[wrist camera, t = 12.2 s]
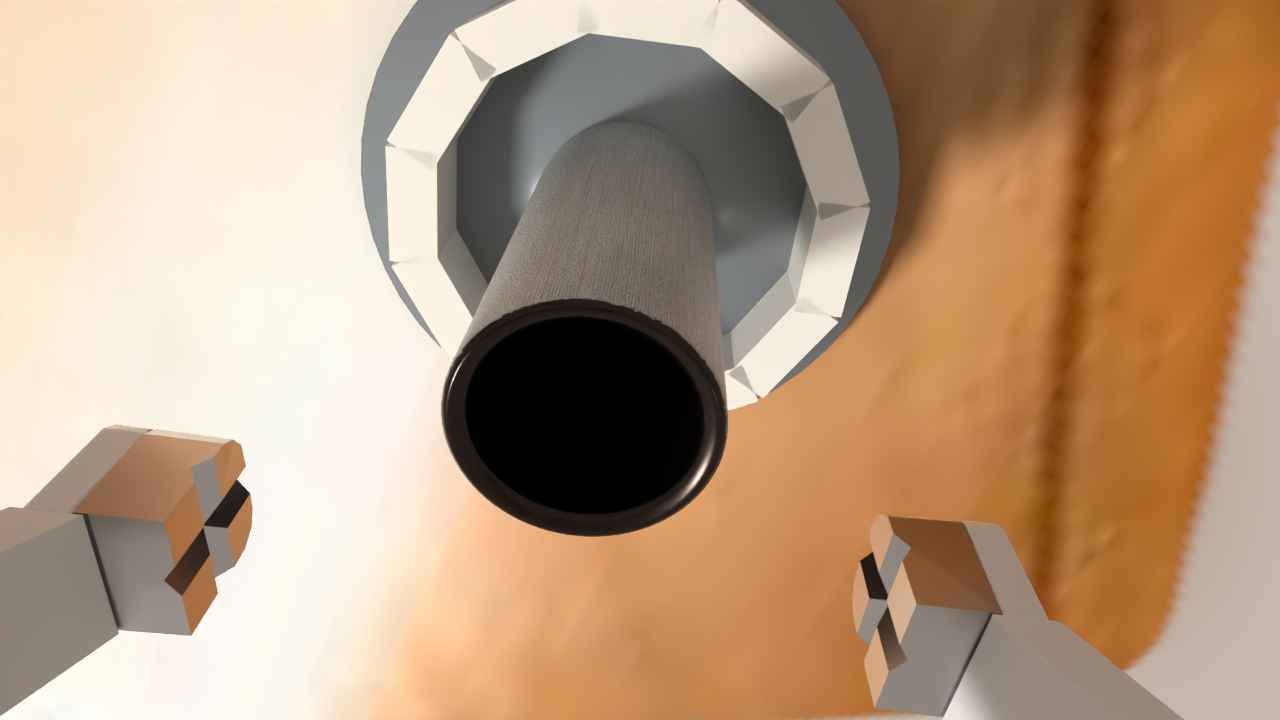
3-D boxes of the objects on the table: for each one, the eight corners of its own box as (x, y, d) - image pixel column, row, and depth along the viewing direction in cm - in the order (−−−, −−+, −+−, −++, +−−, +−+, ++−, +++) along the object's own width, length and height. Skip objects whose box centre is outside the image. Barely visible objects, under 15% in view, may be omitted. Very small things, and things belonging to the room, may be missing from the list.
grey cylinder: (630, 80, 20) (588, 238, 12) (745, 215, 22) (788, 446, 13) (502, 197, 22) (379, 415, 13) (618, 315, 24) (578, 580, 15)
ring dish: (357, -136, 19) (309, -137, 17) (963, -55, 19) (1003, -45, 17) (381, 383, 26) (350, 435, 24) (825, 437, 26) (840, 494, 24)
